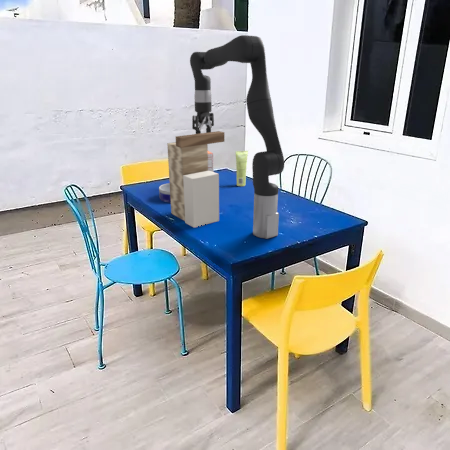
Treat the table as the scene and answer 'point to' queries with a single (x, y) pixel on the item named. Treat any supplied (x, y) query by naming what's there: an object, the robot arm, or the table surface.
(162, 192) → the dog bowl
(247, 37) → the robot arm
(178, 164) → the birch stand
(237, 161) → the tube
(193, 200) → the white block
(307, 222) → the table surface
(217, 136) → the light brown wooden block
